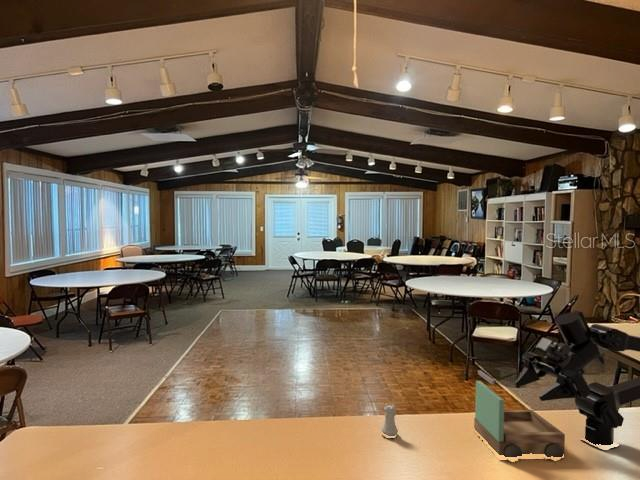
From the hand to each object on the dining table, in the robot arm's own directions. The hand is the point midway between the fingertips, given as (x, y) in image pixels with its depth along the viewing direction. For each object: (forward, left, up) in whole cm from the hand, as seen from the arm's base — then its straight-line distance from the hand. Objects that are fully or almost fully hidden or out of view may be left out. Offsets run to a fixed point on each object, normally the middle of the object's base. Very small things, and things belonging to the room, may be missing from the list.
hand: (527, 391), depth 105 cm
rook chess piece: (+28, -19, -15) cm, 37 cm away
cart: (0, -3, -14) cm, 15 cm away
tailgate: (+8, -5, -10) cm, 14 cm away
